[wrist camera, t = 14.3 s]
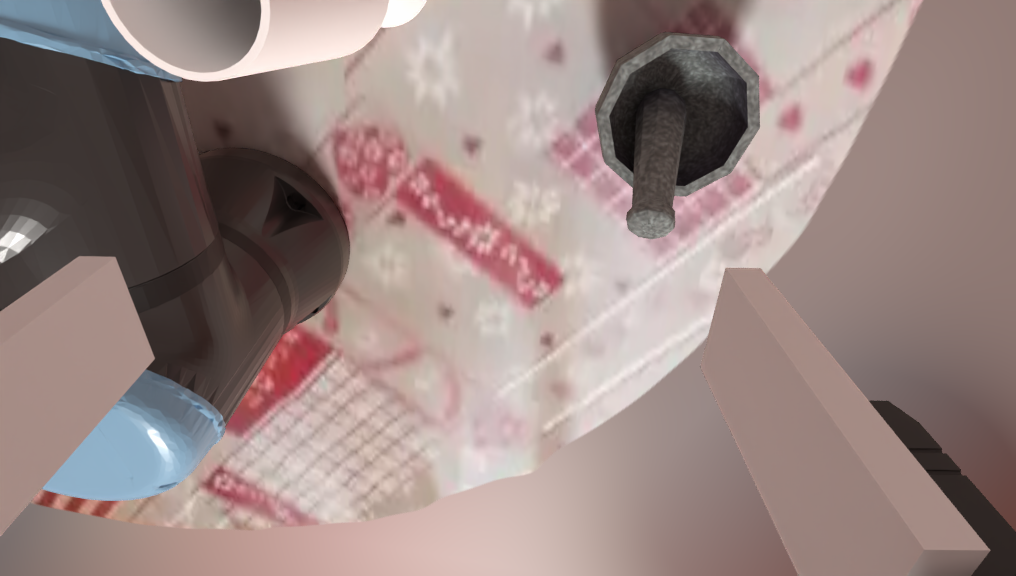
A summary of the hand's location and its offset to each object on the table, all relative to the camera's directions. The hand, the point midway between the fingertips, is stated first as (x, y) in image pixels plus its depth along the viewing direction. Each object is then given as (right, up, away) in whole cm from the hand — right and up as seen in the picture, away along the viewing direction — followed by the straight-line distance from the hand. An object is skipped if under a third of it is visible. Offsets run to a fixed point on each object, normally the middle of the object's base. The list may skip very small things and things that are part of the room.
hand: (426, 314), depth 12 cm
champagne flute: (-6, +21, +23) cm, 32 cm away
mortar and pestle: (+12, +14, +27) cm, 33 cm away
